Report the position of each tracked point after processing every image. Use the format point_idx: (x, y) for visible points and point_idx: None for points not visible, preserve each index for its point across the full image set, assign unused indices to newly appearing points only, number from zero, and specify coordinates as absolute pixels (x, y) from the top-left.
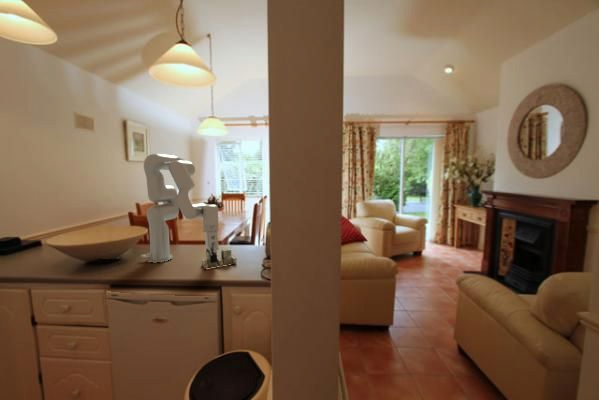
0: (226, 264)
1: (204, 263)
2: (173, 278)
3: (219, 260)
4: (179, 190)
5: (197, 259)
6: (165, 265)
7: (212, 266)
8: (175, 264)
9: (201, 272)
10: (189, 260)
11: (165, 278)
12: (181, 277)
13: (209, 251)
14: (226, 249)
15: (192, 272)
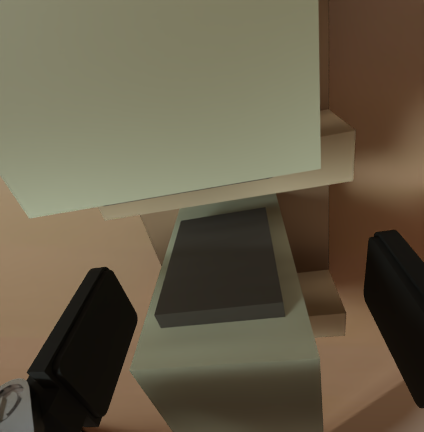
0: (323, 40)
1: (328, 334)
2: (365, 403)
3: (313, 182)
4: None
5: (15, 312)
6: (130, 420)
7: (309, 231)
8: (120, 396)
9: (361, 297)
10: None
11: (339, 421)
12: (378, 381)
13: (204, 424)
14: (79, 12)
15: (320, 340)
